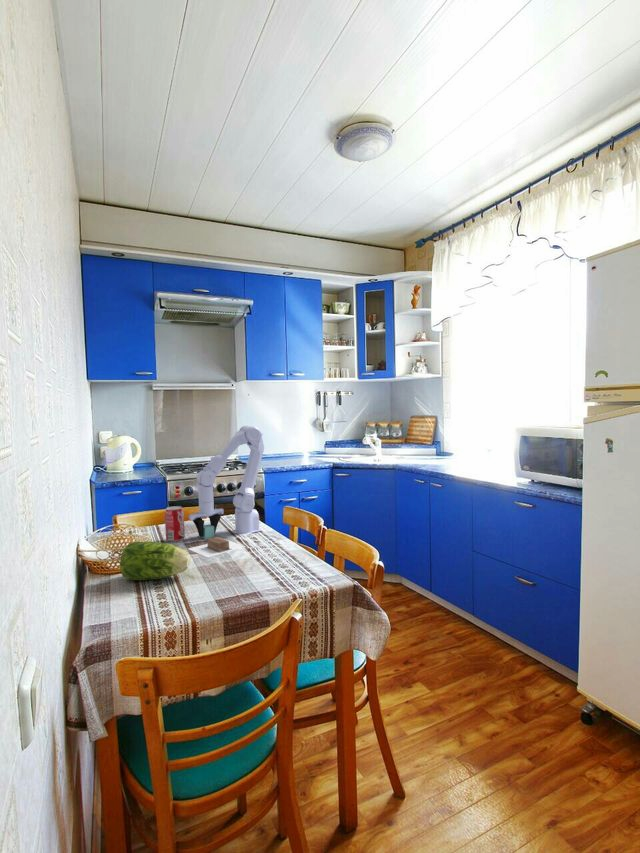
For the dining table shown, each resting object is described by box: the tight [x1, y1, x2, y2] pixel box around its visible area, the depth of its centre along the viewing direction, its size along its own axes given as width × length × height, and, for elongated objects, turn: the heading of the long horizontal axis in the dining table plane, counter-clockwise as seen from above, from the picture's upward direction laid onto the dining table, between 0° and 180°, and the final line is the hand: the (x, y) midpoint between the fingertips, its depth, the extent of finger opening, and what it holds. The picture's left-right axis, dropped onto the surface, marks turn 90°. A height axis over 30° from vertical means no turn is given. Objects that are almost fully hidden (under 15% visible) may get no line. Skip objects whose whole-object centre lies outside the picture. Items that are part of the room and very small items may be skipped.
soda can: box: [164, 505, 186, 543], centre depth 179 cm, size 7×7×13 cm
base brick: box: [206, 536, 230, 552], centre depth 166 cm, size 4×8×3 cm, turn 45°
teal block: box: [200, 523, 215, 540], centre depth 181 cm, size 4×4×5 cm
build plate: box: [188, 538, 246, 558], centre depth 167 cm, size 16×14×1 cm
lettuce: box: [119, 541, 191, 581], centre depth 139 cm, size 12×21×11 cm, turn 90°
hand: (207, 534), depth 181 cm, fingers open, 5 cm apart
